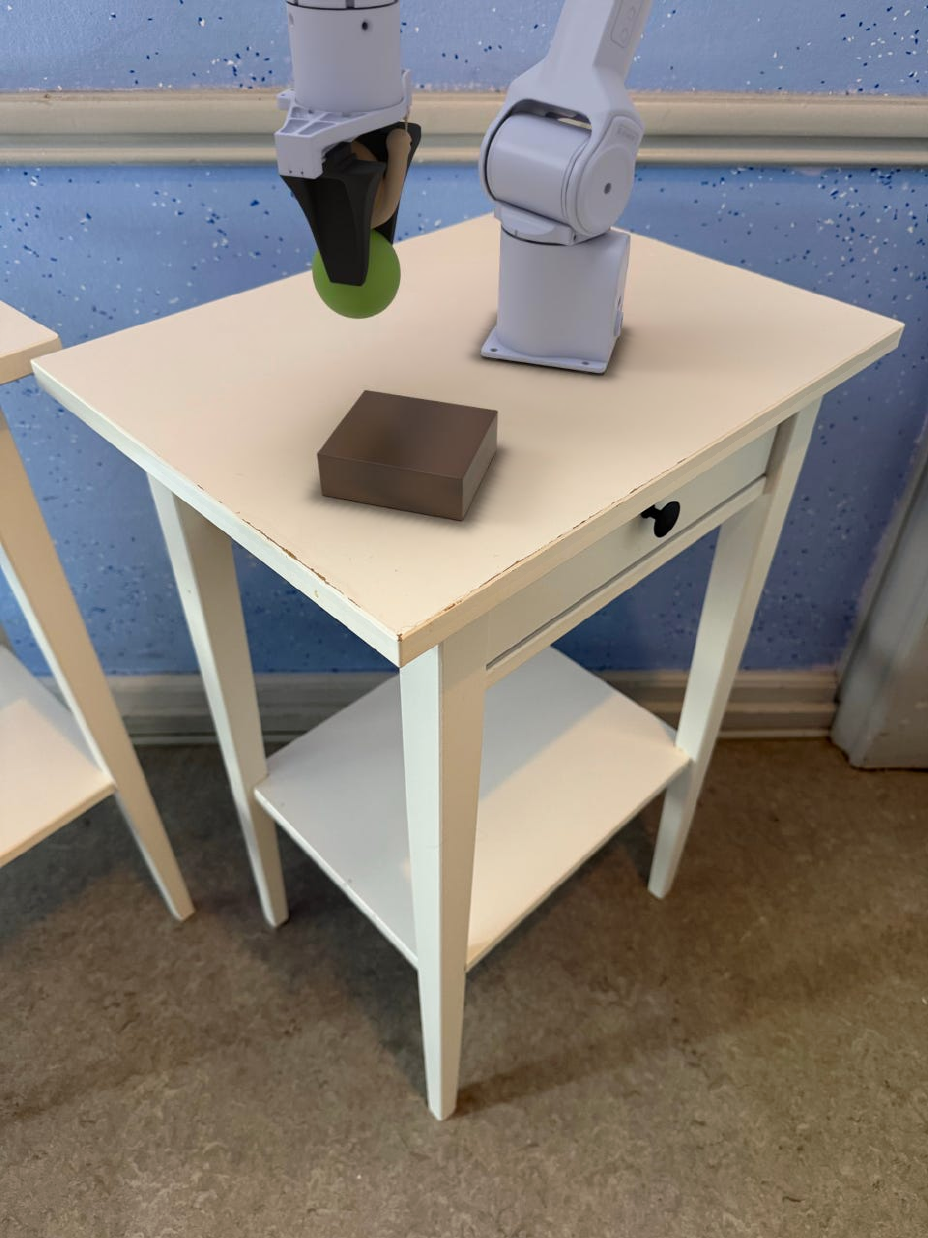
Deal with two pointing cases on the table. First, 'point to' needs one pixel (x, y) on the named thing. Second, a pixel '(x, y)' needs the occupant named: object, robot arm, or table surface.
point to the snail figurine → (372, 240)
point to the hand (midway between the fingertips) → (360, 268)
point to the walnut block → (409, 454)
